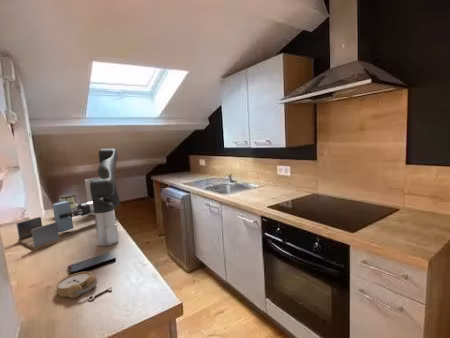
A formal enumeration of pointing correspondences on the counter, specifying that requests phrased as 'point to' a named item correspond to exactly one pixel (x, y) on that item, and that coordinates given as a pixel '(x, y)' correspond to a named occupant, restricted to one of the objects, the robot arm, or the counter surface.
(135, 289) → the counter surface
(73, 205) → the coffee can
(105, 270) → the counter surface
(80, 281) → the alarm clock
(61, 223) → the book
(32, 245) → the book stand
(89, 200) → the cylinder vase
